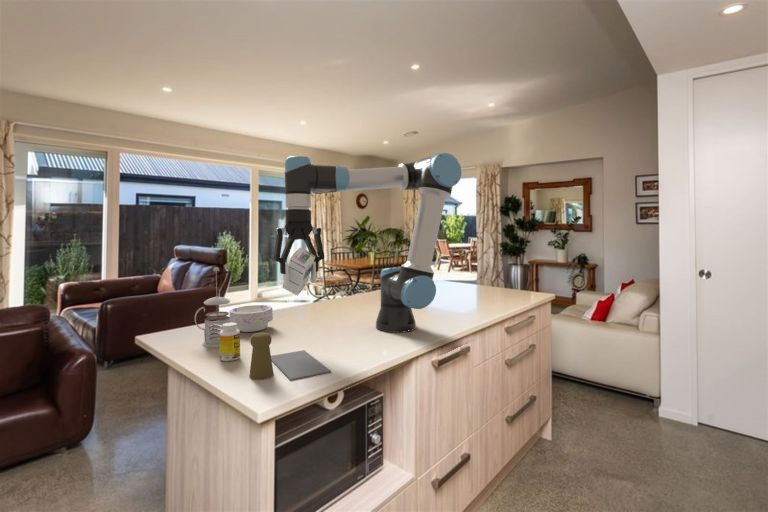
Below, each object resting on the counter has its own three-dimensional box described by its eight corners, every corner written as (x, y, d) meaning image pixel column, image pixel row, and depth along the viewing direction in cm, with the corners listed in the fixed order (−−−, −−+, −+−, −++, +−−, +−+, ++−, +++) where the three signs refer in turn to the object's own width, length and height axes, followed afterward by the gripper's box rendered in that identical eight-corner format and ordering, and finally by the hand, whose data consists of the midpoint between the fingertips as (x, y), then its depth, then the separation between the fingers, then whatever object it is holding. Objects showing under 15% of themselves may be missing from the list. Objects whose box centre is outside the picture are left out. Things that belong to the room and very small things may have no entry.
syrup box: (297, 296, 123) (307, 267, 113) (281, 287, 123) (290, 257, 113) (306, 285, 127) (316, 255, 118) (290, 276, 127) (299, 246, 118)
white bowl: (223, 328, 146) (223, 307, 145) (262, 322, 156) (261, 302, 156) (239, 337, 135) (239, 314, 134) (280, 329, 145) (279, 308, 144)
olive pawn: (244, 378, 98) (243, 336, 97) (256, 370, 104) (255, 329, 103) (267, 380, 97) (266, 337, 96) (277, 371, 103) (276, 330, 102)
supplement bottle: (236, 362, 110) (235, 326, 109) (216, 361, 110) (215, 326, 109) (243, 355, 116) (242, 321, 115) (224, 355, 116) (224, 321, 115)
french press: (236, 344, 126) (234, 268, 125) (196, 350, 121) (194, 269, 119) (231, 337, 135) (229, 265, 133) (194, 341, 129) (192, 266, 127)
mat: (268, 357, 114) (268, 356, 114) (304, 351, 120) (304, 350, 120) (290, 380, 97) (290, 379, 97) (330, 372, 103) (330, 370, 103)
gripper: (325, 210, 126) (327, 279, 128) (260, 208, 116) (262, 284, 117) (335, 209, 120) (336, 282, 121) (266, 207, 109) (269, 287, 111)
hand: (300, 283), depth 119 cm, fingers closed on syrup box, 8 cm apart
